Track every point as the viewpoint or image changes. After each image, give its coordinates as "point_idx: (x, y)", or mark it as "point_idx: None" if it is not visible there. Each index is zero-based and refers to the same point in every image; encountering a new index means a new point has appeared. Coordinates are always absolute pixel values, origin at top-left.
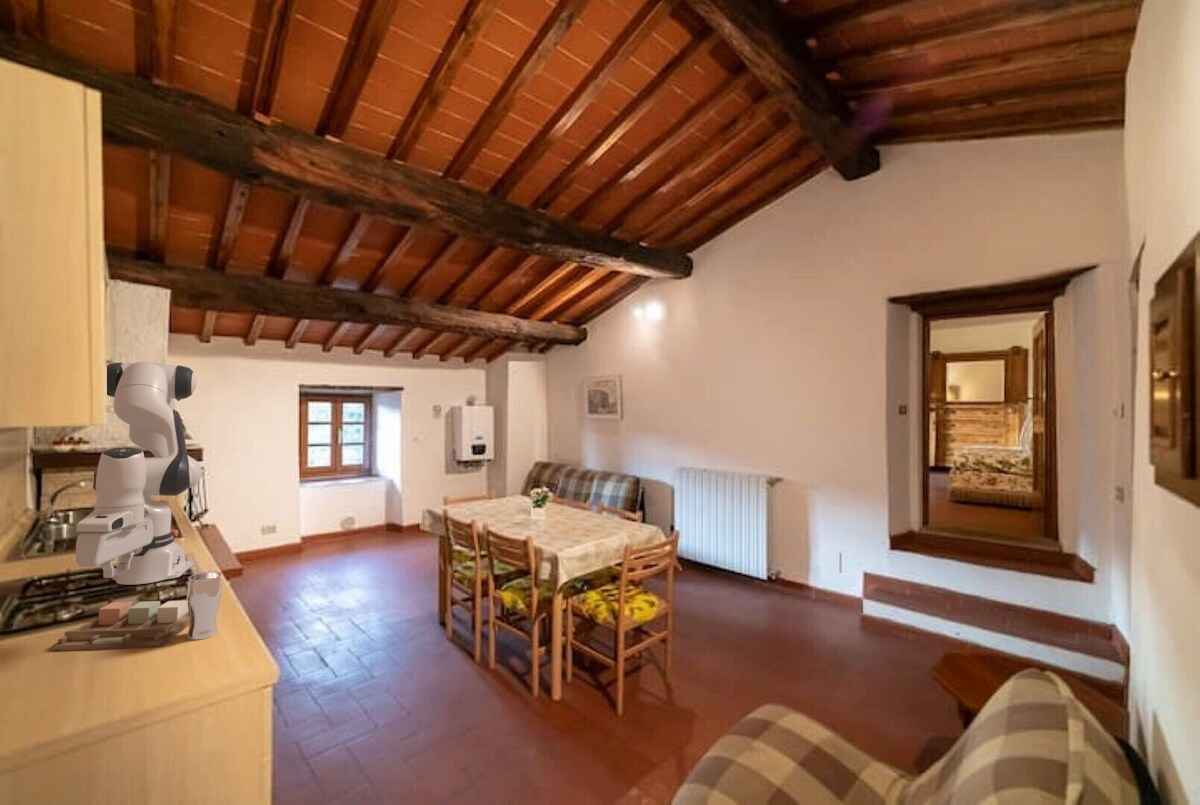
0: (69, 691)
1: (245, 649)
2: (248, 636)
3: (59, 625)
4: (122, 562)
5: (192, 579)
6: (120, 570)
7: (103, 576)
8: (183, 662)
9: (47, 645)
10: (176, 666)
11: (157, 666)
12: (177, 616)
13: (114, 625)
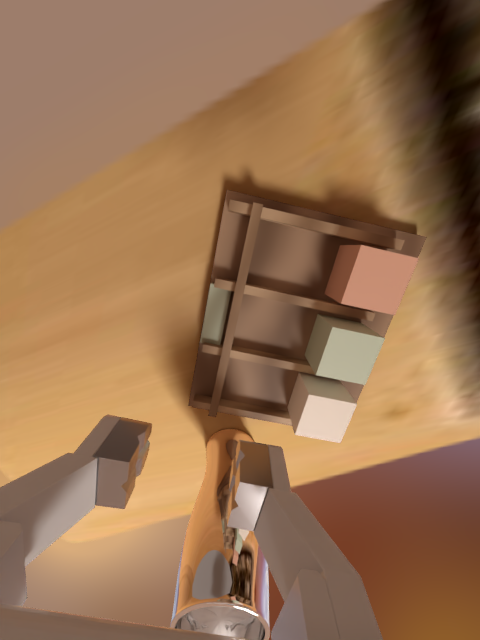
0: (25, 320)
1: (147, 512)
2: None
3: (419, 120)
4: (266, 507)
5: (183, 614)
6: (236, 455)
7: (104, 416)
8: None
9: (268, 163)
10: None
11: None
12: (290, 416)
13: (289, 299)
